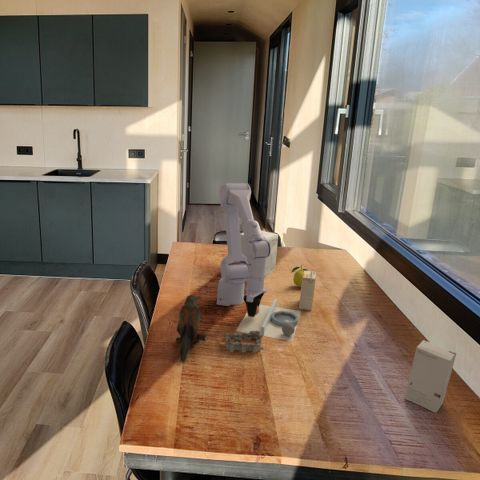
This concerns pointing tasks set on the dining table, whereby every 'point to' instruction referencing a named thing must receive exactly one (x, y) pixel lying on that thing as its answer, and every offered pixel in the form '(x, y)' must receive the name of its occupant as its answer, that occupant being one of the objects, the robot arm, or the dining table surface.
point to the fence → (268, 317)
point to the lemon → (298, 276)
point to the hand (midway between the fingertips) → (252, 313)
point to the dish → (284, 318)
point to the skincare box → (429, 375)
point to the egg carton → (238, 341)
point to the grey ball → (288, 329)
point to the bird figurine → (189, 326)
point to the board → (273, 329)
